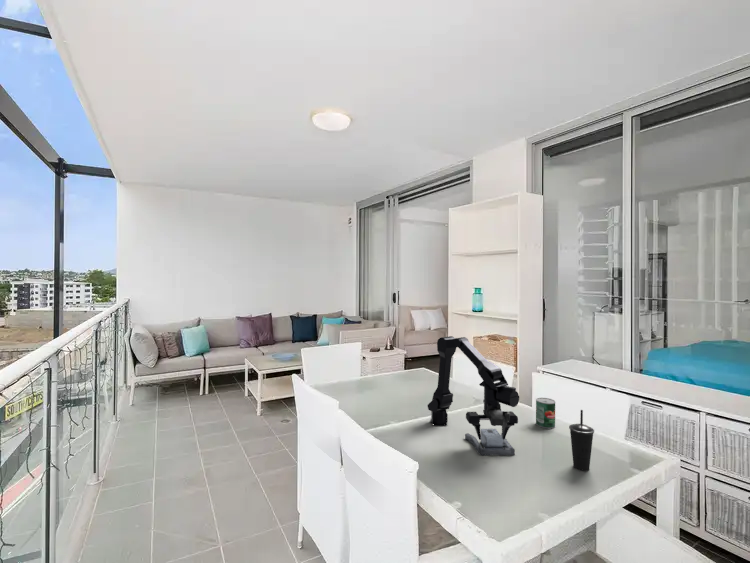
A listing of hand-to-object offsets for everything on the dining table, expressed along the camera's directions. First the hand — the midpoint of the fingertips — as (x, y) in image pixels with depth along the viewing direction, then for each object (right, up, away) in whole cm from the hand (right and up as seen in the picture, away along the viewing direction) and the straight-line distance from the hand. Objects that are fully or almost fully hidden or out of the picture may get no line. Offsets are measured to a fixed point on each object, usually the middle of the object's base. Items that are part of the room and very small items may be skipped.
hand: (491, 439), depth 147 cm
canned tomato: (+31, -3, +22) cm, 38 cm away
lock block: (0, -3, 0) cm, 3 cm away
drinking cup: (+26, -4, -15) cm, 31 cm away
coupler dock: (0, -3, 0) cm, 3 cm away
